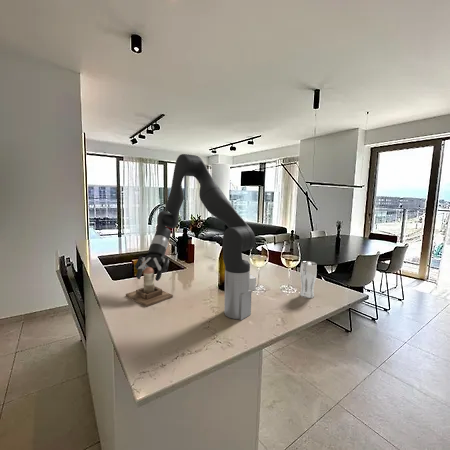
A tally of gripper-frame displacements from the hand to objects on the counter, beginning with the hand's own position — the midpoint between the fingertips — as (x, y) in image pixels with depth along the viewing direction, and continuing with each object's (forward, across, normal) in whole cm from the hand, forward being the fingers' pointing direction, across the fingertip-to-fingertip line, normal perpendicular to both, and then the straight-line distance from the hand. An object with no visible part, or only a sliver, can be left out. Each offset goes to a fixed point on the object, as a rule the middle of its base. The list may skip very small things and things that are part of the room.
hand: (147, 279), depth 110 cm
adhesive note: (-8, +41, +20) cm, 47 cm away
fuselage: (+4, 0, +6) cm, 7 cm away
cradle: (+5, 0, +7) cm, 9 cm away
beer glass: (-6, +68, +18) cm, 71 cm away
